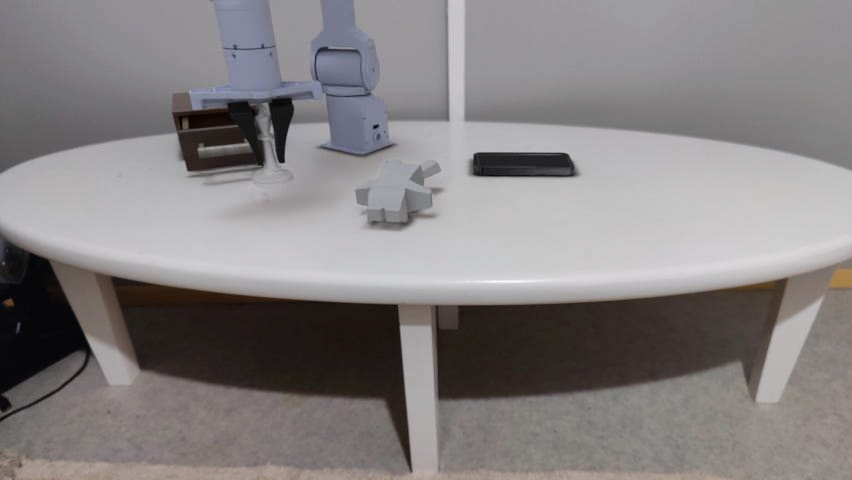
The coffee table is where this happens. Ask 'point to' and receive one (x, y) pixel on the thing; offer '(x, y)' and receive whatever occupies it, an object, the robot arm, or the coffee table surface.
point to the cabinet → (184, 108)
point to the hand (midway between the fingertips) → (270, 162)
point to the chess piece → (269, 155)
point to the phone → (522, 163)
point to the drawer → (215, 142)
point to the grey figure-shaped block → (397, 190)
